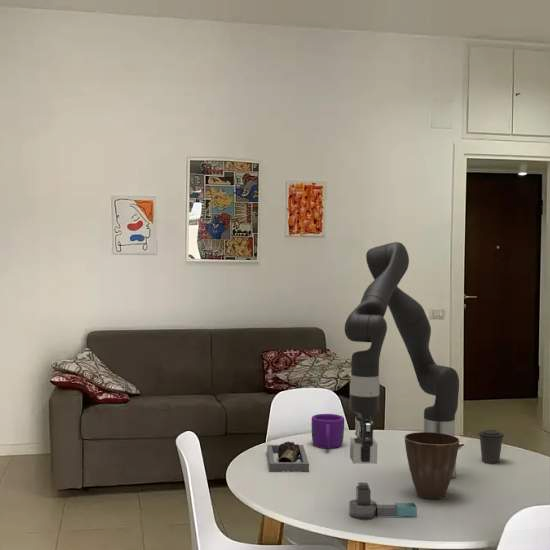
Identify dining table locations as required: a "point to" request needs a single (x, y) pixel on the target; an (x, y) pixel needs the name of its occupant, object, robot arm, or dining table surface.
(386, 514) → the ratchet
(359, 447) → the square metal tube
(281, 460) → the rough wooden branch
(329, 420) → the mug
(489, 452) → the coffee cup
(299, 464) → the gray rectangular tray
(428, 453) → the plant pot
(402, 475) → the dining table surface
